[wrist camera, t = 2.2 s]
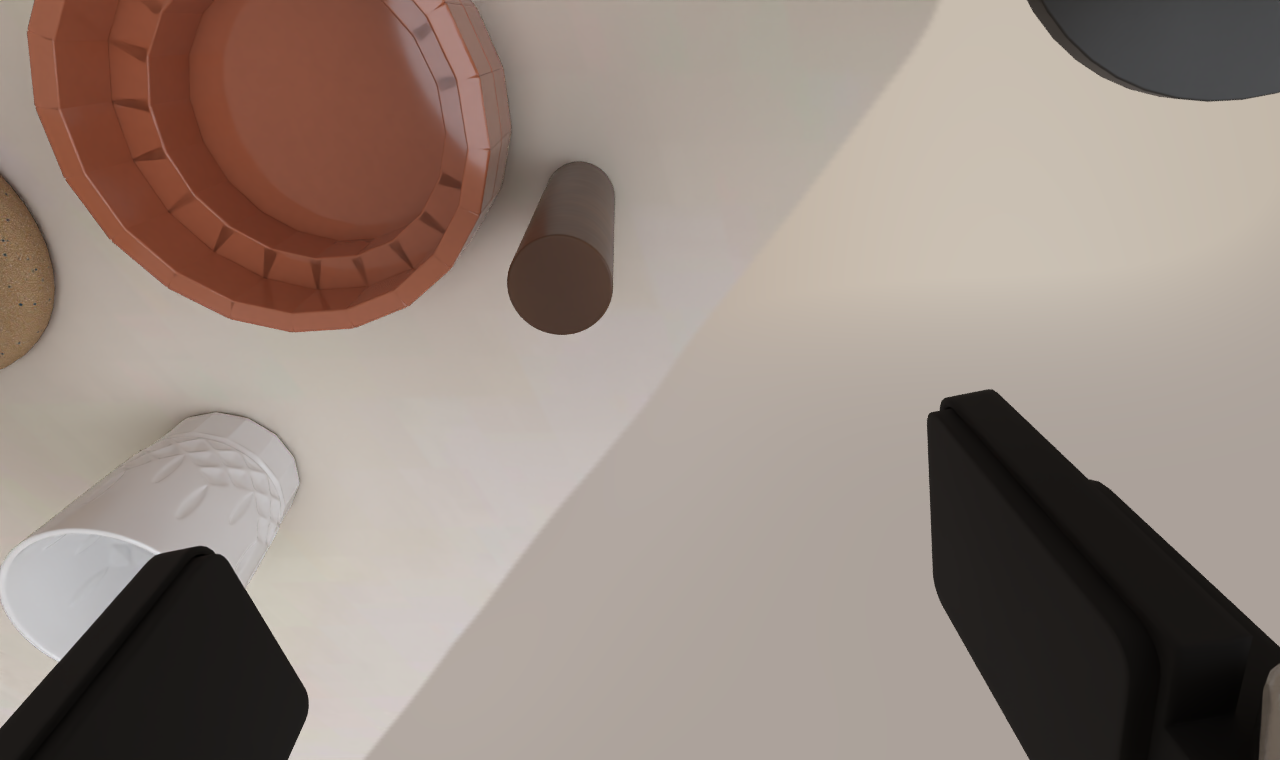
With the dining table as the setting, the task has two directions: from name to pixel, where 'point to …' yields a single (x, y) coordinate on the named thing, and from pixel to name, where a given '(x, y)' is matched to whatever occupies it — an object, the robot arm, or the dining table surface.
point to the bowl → (278, 144)
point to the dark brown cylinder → (567, 253)
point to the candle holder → (22, 278)
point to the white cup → (150, 524)
